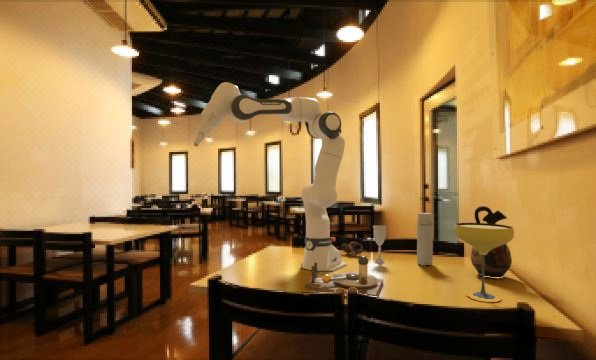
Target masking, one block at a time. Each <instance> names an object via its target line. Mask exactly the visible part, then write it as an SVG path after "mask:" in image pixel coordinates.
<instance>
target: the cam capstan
mask: <svg viewBox="0 0 596 360" xmlns="http://www.w3.org/2000/svg"><path fill="white" fill-rule="evenodd" d="M357 263H358V272H355V271H354V272H353V271H352V272H351V271H350V272H341V273H340V272H339V273H336V274H337V275H335V276H334V278H331V276H330V275H329V274H324V275H322V276H321V278H322V281H323V282H324V283H326V284H327V283H329V282H330V281H334V282H335V283H336V284H337V285H340V286H343V287H348V288H350V287H355V288H370V287H374V286H376V285H377V277H376V276H375V275H373V274H372V275H371V274H369V273H368V264H369V258H368V257H367V256H365V255H360V256H359V257H358V259H357Z"/></svg>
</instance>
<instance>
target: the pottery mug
mask: <svg viewBox="0 0 596 360" xmlns="http://www.w3.org/2000/svg"><path fill="white" fill-rule="evenodd" d="M340 247H341V250H342V251H343V252H344V253H345V254H347V255H348V254H350V256H351V257H352V258H353V257H354V258H355V256H357V255H361V254H362V253H363V252H364V249H363V247H364V246H363V245H362V244H361V243H360V242H357V241H351V242H350V243H349V244H347V243H342V245H341V246H340ZM356 247H359V248H357V249H356Z"/></svg>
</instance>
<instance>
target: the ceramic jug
mask: <svg viewBox="0 0 596 360" xmlns="http://www.w3.org/2000/svg"><path fill="white" fill-rule="evenodd" d="M482 212H487V214H486V215H484V217H483V218H482V222H486V223H487V224H497V223H498V222H500V221H503V220H506V219H508V217H507V216H505V214H503V213H502V211H499V210H496V211H495V212H493V211H492V209H491V208H490V207H488V206H484V205H481V206H480V205H479V206H478V207H477V208H476V209H475V211H474V214H473V215H474V219H475V223H481V220H480V216H479V213H482ZM471 247H472V248H471V250H470V261H471V264H472V267H474V269H475V270H476V271H477V274H478V273H479V274H481V275H482V255H481V254H480V253H479V252H478V250H477V249H476V248H475V247H473V246H471ZM512 261H513V260H512V254H511V250H510V248H509V246H508V243H506V244H504V245H501V246H498V247H496V248H493V249H491V250H490V251H489V252H488V253H487V254H486V255H484V276H490V277H502V276H503V277H504V275H506V273H507V272H508V271H509V270H510V268H511V267H512V263H513V262H512Z"/></svg>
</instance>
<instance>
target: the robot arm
mask: <svg viewBox="0 0 596 360" xmlns="http://www.w3.org/2000/svg"><path fill="white" fill-rule="evenodd" d="M200 115H201V116H202V118H201V123H200V125H199V127H198V130H197V135H196V137H195V138H194V140H193V142H194V143H193V146H194V147H195V148H197V147H198V146H199V144H200V143H201V142H202V141H204V140H206V138H207V137H208V136H209V135H210V133H211V132H212V131H213V129H215V128H216V127H218V126H221V124H222V123H223V121H224V119H225V117H227V118H228V119H229V120H231V121H232V122H233V123H235V124H236V125H237V124H238V125H243V124H244V123H246V122H248V121H249V120H250V119H252V118H254V117H257V116H260V115H262V116H263V115H264V116H266V115H271V116H272V115H274V116H275V115H276V116H278V117H279V118H280V119H281V120H282V121H283V122H290V123H296V122H304V125H305V128H306V132H307V134H308V135H309V137H311V138H313V139H316V140H321V147H320V150H319V153H318V156H317V159H316V163H315V166H314V178H313V179H314V181H313V183H310V184H308V185H306V186H305V187H304V188H302V191H301V193H300V195H301V199H302V203H303V209H304V213H305V214H304V216H305V237H304V245H305V246H304V252H303V261H302V262H301V265H302V266H301V267H302V268H303V269H306V270H307V271H308V270H309V271H312V266H314V263H317V272H322V271H327V272H334V271H336V270H338V269H340V268H342V267H346V266H347V263H346V262H345V261H343V260H342V254H341V252H340V250H338V248H336V247H335V246H334V245H333V242H336V237H335V236H334V237H332V236H331V237H330V233H331V229H330V228H331V223H330V222H331V221H330V218H329V216H328V212H327V208H330V207H332V206H334V204H336V203H337V198H338V193H337V190H336V189H337V180H338V179H337V178H338V172H339V170H340V166H341V162H342V160H343V156H344V153H345V152H344V151H345V146H346V141H345V138H344V137H343V136H342V135H341V134H342V121H341V120H342V119H341V117H340V116H339V114H338V113H336V112H333V111H326V112H322V111H321V105H320V102H319V101H318V100H317V99H316V98H312V97H306V96H305V97H304V96H291V97H285V98H279V99H278V98H277V99H276V98H274V99H273V98H257V97H254V96H251V95H249V94H241V92H240V89H239V87H238V86H237V85H236V84H234V83H231V82H229V81H228V82H227V81H224V82H222V83H220V84H219V85H218V86H217V87H216V89H215V90H214V92H213V93H212V95H211V97H210V100H209V101H208V102H207V103H206V104H205V106H204V108H203V110H202V112H201V113H200Z"/></svg>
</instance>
